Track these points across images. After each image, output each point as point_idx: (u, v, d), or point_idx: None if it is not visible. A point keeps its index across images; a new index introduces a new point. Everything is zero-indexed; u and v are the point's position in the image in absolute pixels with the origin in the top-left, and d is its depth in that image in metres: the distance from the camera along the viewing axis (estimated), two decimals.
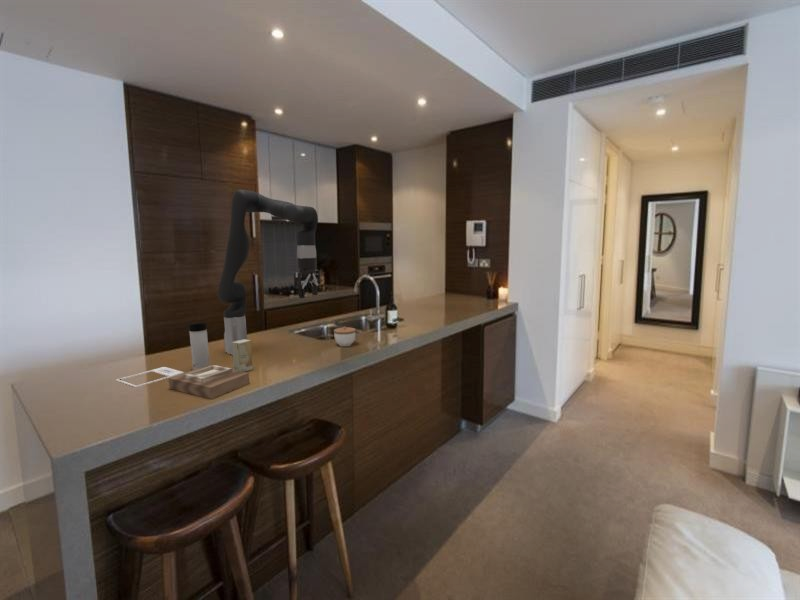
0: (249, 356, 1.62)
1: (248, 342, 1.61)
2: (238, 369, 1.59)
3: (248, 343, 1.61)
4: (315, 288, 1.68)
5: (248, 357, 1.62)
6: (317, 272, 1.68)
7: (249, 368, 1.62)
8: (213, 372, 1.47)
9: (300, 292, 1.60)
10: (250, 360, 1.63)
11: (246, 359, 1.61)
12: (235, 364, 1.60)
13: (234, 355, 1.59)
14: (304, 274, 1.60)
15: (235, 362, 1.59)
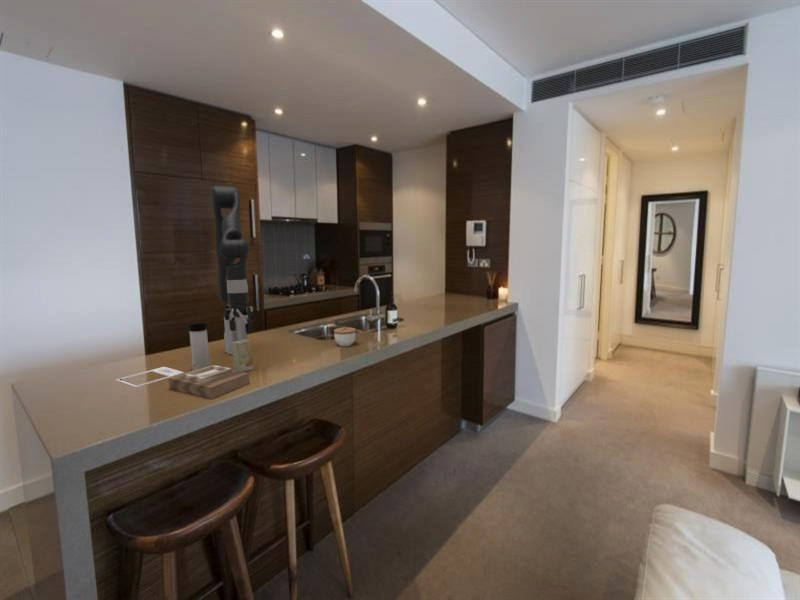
0: (249, 356, 1.62)
1: (248, 342, 1.61)
2: (238, 369, 1.59)
3: (248, 343, 1.61)
4: (234, 323, 1.62)
5: (248, 357, 1.62)
6: None
7: (249, 368, 1.62)
8: (213, 372, 1.47)
9: (250, 326, 1.57)
10: (250, 360, 1.63)
11: (246, 359, 1.61)
12: (235, 364, 1.60)
13: (234, 355, 1.59)
14: None
15: (235, 362, 1.59)
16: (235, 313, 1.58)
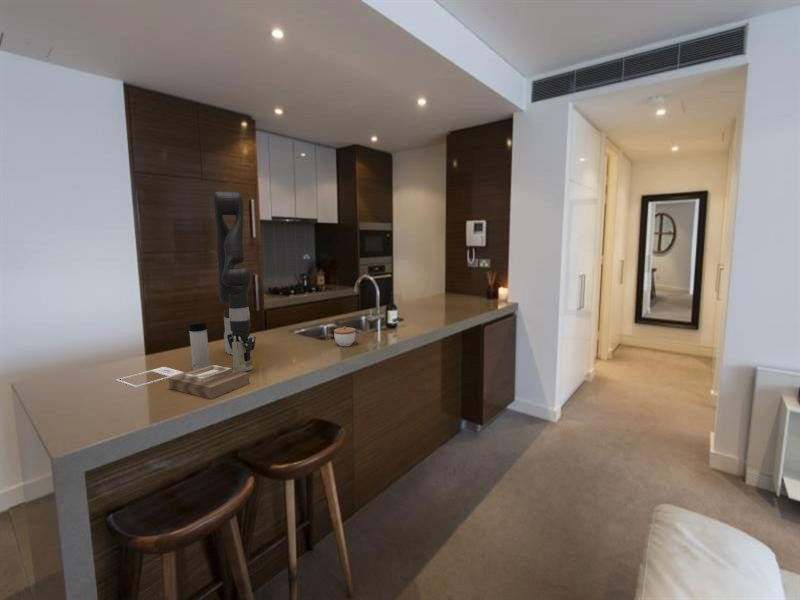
0: None
1: None
2: (238, 369, 1.59)
3: None
4: None
5: None
6: None
7: (249, 368, 1.62)
8: (213, 372, 1.47)
9: (249, 355, 1.60)
10: (250, 360, 1.63)
11: None
12: (235, 364, 1.60)
13: (234, 355, 1.59)
14: None
15: (235, 362, 1.59)
16: (238, 340, 1.60)
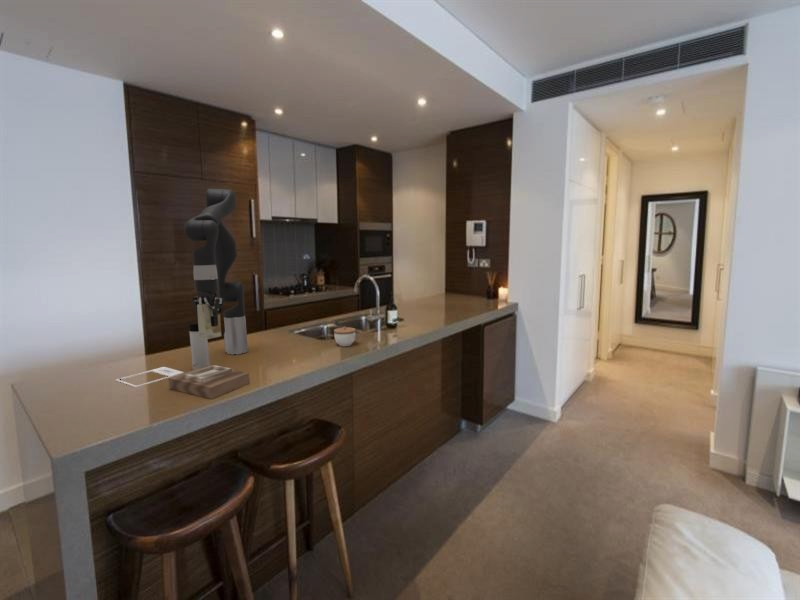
0: None
1: None
2: (204, 335, 1.41)
3: None
4: None
5: None
6: None
7: (217, 335, 1.44)
8: (213, 372, 1.47)
9: (216, 319, 1.42)
10: (218, 326, 1.44)
11: None
12: (201, 329, 1.41)
13: (199, 319, 1.41)
14: None
15: (200, 327, 1.41)
16: (204, 302, 1.42)
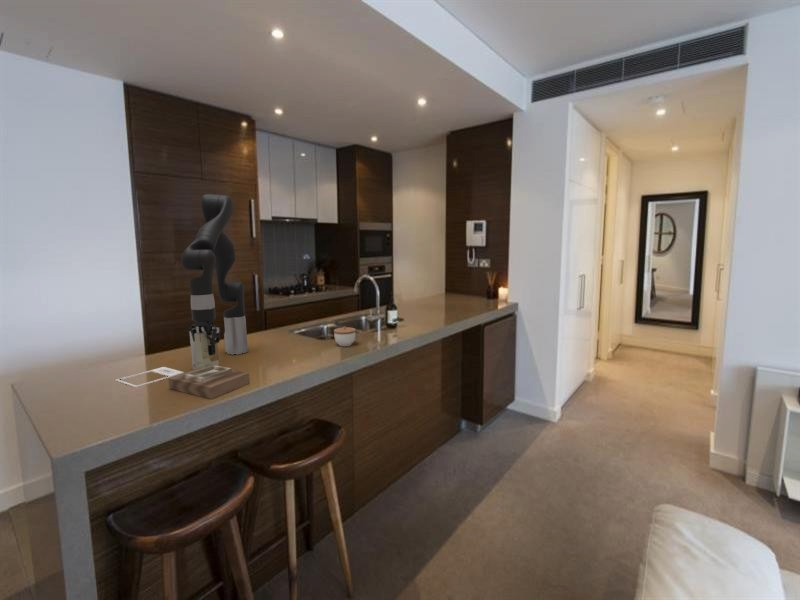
0: None
1: None
2: (201, 364, 1.41)
3: None
4: None
5: None
6: None
7: (214, 363, 1.44)
8: (213, 372, 1.47)
9: (214, 348, 1.42)
10: (216, 354, 1.44)
11: None
12: (198, 358, 1.41)
13: (197, 348, 1.41)
14: None
15: (198, 356, 1.41)
16: (201, 331, 1.42)
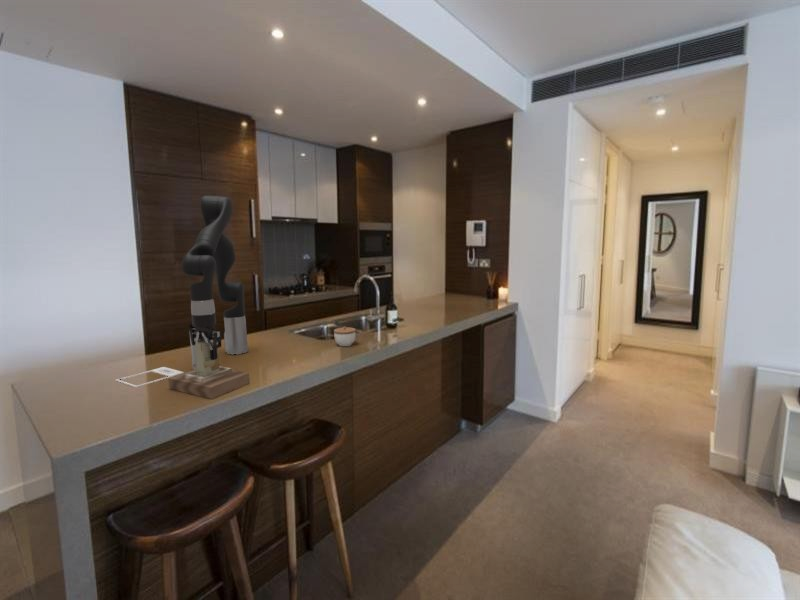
0: None
1: None
2: (202, 373, 1.41)
3: None
4: None
5: None
6: None
7: (215, 372, 1.45)
8: None
9: (216, 353, 1.42)
10: (216, 363, 1.45)
11: (212, 362, 1.43)
12: (199, 367, 1.42)
13: (198, 357, 1.42)
14: None
15: (199, 365, 1.42)
16: (201, 337, 1.42)
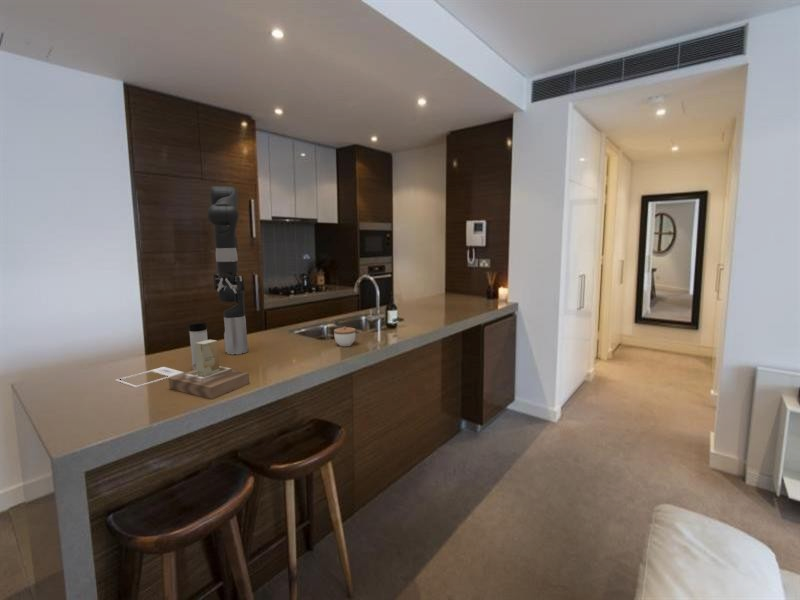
0: (215, 358, 1.44)
1: (214, 343, 1.44)
2: (202, 373, 1.41)
3: (214, 343, 1.44)
4: (224, 293, 1.57)
5: (214, 359, 1.44)
6: None
7: (215, 372, 1.45)
8: None
9: (239, 296, 1.53)
10: (216, 363, 1.45)
11: (212, 362, 1.43)
12: (199, 367, 1.42)
13: (198, 357, 1.42)
14: None
15: (199, 365, 1.42)
16: (224, 283, 1.54)
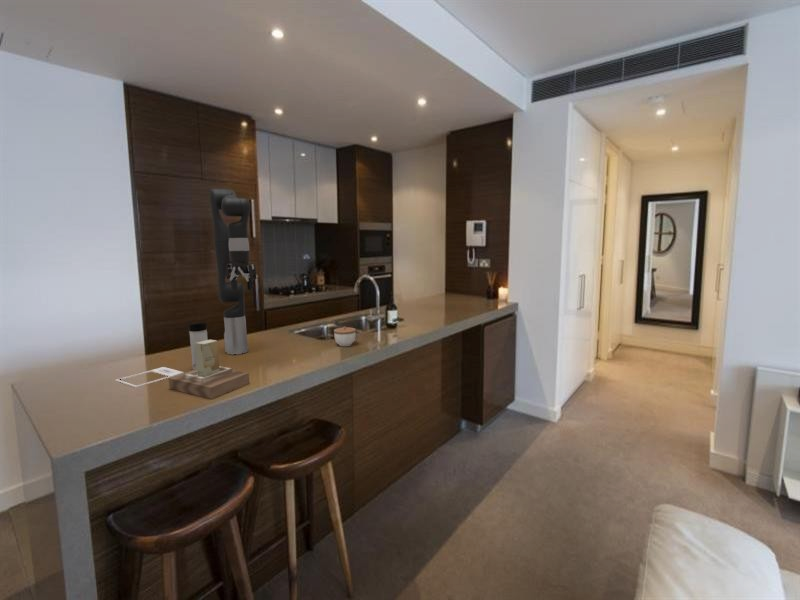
0: (215, 358, 1.44)
1: (214, 343, 1.44)
2: (202, 373, 1.41)
3: (214, 343, 1.44)
4: (235, 282, 1.64)
5: (214, 359, 1.44)
6: None
7: (215, 372, 1.45)
8: None
9: (251, 284, 1.60)
10: (216, 363, 1.45)
11: (212, 362, 1.43)
12: (199, 367, 1.42)
13: (198, 357, 1.42)
14: None
15: (199, 365, 1.42)
16: (237, 271, 1.60)
